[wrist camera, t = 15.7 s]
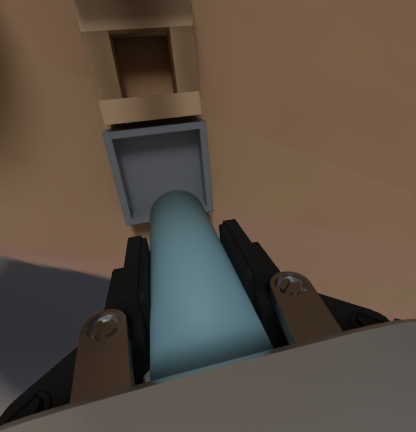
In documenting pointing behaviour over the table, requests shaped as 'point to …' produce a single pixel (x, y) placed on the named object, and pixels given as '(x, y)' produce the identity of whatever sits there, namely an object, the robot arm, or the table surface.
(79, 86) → the table surface
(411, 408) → the robot arm
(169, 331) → the dowel
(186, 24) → the socket
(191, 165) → the tray
